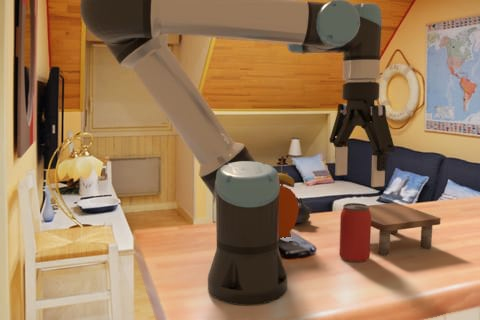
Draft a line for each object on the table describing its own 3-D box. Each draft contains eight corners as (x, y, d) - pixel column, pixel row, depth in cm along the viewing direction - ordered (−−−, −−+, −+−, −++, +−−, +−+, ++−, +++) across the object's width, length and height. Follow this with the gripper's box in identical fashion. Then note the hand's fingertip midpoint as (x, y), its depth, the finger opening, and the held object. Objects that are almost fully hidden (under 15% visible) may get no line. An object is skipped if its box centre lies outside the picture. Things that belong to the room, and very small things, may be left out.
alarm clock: (283, 233, 121) (284, 158, 118) (298, 240, 116) (300, 161, 113) (241, 243, 113) (240, 163, 110) (255, 250, 108) (255, 166, 105)
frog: (294, 230, 124) (295, 202, 122) (266, 220, 133) (266, 194, 132) (320, 224, 129) (321, 197, 128) (292, 215, 139) (292, 190, 138)
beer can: (370, 264, 99) (372, 210, 98) (339, 262, 101) (341, 209, 99) (368, 254, 106) (370, 203, 104) (339, 252, 107) (340, 201, 105)
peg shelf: (382, 257, 103) (383, 225, 102) (342, 236, 118) (343, 208, 117) (438, 248, 109) (440, 218, 108) (394, 229, 124) (395, 202, 123)
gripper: (416, 80, 87) (411, 190, 90) (343, 82, 110) (341, 169, 113) (383, 80, 84) (379, 193, 88) (315, 82, 108) (314, 172, 111)
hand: (358, 180), depth 101 cm, fingers open, 13 cm apart
